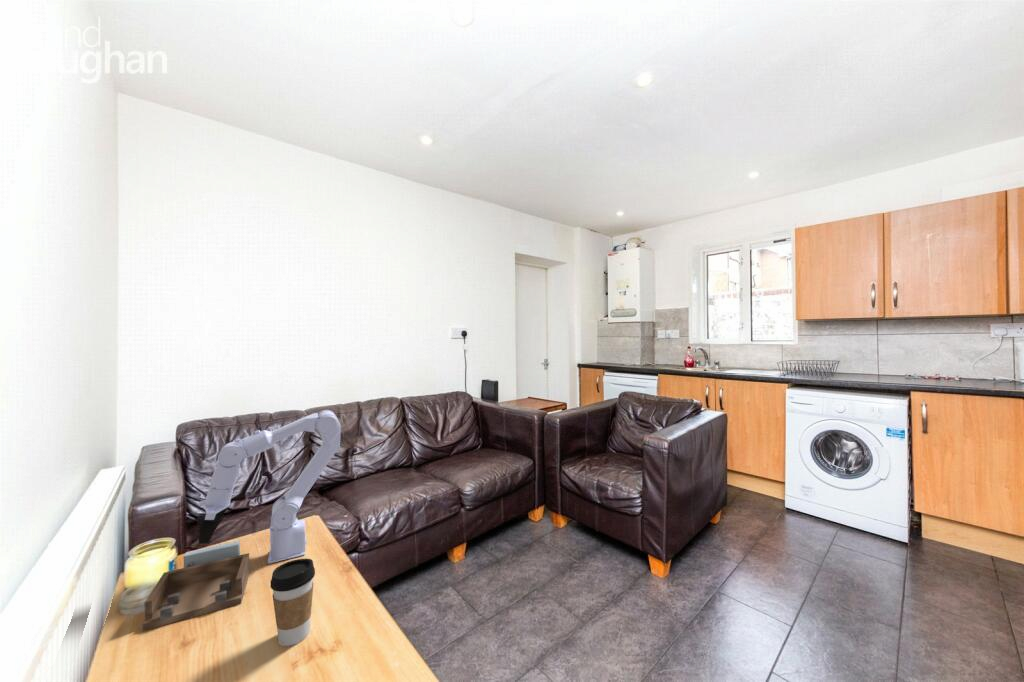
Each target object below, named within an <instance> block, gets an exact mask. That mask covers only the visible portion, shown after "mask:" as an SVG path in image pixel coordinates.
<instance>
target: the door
mask: <svg viewBox="0 0 1024 682" xmlns="http://www.w3.org/2000/svg"><path fill="white" fill-rule="evenodd" d="M240 542H241V541H240V540H236V541H231V542H227V543H224V544H223V543H222V544H219V545H217V544H216V545H214V546H213V545H212V546H209V547H204V548H199V549H195V550H191V551H190V550H189V551H186V552H185V554H184V556H183V568H186V567H191V566H195V565H199V564H204V563H208V562H212V561H217V560H221V559H225V558H230V557H234V556H238V555H241V543H240Z"/></svg>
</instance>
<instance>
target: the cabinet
mask: <svg viewBox="0 0 1024 682" xmlns="http://www.w3.org/2000/svg"><path fill="white" fill-rule="evenodd" d="M250 570H251V569H250V553H249V552H248V553H244V554H240V555H238V556H234V557H230V558H225V559H221V560H217V561H212V562H208V563H204V564H199V565H195V566H191V567H186V568H184V567H182V568H178V569H174V570H173V569H172V570H169V571H165V572H163V573H162V574H161V577H160V578H159V579H158V582H156V584H155V586H154V587H153V589H152V590H151V592H150V593H149V595H148V596H147V598H146V600H145V601H144V621H143V623H142V632H144V631H147V630H150V629H155V628H158V627H162V626H165V625H169V624H173V623H176V622H180V621H184V620H188V619H191V618H193V617H198V616H202V615H205V614H209V613H212V612H213V613H214V612H216V611H220V610H222V609H227V608H230V607H233V606H236V605H240V604H242V601H243V598H244V595H245V591H246V588H247V584H248V581H249V577H250V574H251V573H250Z"/></svg>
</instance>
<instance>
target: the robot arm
mask: <svg viewBox="0 0 1024 682" xmlns="http://www.w3.org/2000/svg"><path fill="white" fill-rule="evenodd" d="M316 430H317V431H318V433H319V434H320V436H321V437H320V438H321V442H322V443H321V445H320V446H319V447H318V449H317V450H316V452H315V453H314V455H313V456H312V457H311V459H310V460H309V462H308V463H307V465H306V466H305V467H304V469H303V470H302V471H301V473H300V474H299V476H298V477H297V479H296V480H295V482H294V483H293V484H292V486H291V487H290V488H289V489H288V490H287V491H286V492H285V493H284V494H283V495H282V496H281V497H280V498H278V499H277V500H275V502H274V503H273V504H272V507H271V517H270V525H269V545H270V546H269V549H270V550H269V554H268V559H267V564H269V565H270V564H273V563H277V562H281V561H286V560H290V559H293V558H298V557H301V556H304V555H306V545H307V537H306V519H301V520H300V519H298V518H297V513H298V511H299V510H300V508H301V506H302V504H303V501H304V499H305V498H306V496H307V494H308V493H309V491H310V490H311V488H312V487H313V485H314V484H315V483H316V481H317V479H319V477H320V475H321V474H322V472H323V471H324V470H325V468H326V467H327V466H328V464H329V463H330V461H331V460H332V458H333V457H334V456H335V454H336V453H337V451H338V450H339V448H340V446H341V430H342V425H341V422H340V420H339V418H338V417H337V415H336V414H335V412H334V411H332V410H329V409H324V410H320V411H319V412H314V413H311V414H309V415H307V416H304V417H302V418H300V419H297V420H295V421H293V422H291V423H287V424H286V425H284V426H282V427H279V428H276V429H275V430H273V431H271V430H267V429H264V430H260V429H258V430H255V431H254V433H253V434H251V435H249V436H246V437H244V438H237V439H235V441H231V442H227V443H226V444H224V445H223V446H222V448H221V449H220V451H219V453H218V454H217V463H216V464H215V465H216V466H215V467H216V468H215V469H214V471H213V474H212V476H211V479H210V483H209V487H208V490H207V493H206V497H205V499H204V500H200V501H199V503H198V506H200V507H201V506H202V507H203V509H204V511H205V512H206V514H199V515H198V516H197V519H196V521H197V524H198V531H199V533H198V544H209V543H210V541H211V539H212V537H213V536H214V533H215V531H216V530H217V528H218V526H219V525H220V524H221V523H222V522H223V520H224V518H225V517H224V514H225V513H226V511H228V509H229V508H230V507H231V503H232V502H231V500H232V497H233V493H234V489H235V486H236V482H237V479H238V476H239V471H240V469H239V468H240V465H241V463H242V461H243V460H244V459H247V458H251V457H253V456H255V455H259V454H261V453H263V452H265V451H267V450H271V449H272V448H273V446H274V445H275V443H276V442H278V441H281V440H283V439H284V440H285V439H286V438H289V437H291V436H294V435H296V434H299V433H302V432H304V431H305V432H307V433H308V432H309V433H316Z"/></svg>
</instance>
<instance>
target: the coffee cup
mask: <svg viewBox="0 0 1024 682" xmlns="http://www.w3.org/2000/svg"><path fill="white" fill-rule="evenodd" d="M271 574H272V575H271V579H270V589H271V590H272V602H273V609H274V616H275V624H276V632H277V638H278V639H277V640H278V644H279V645H280V646H282V647H290V646H291V647H292V646H294V645H296V644H299V643H301V642H302V641H304V640H305V639H306V638H307V637H308V635H309V634H310V631H311V616H312V607H313V606H312V605H313V604H312V603H313V593H314V577H315V575H316V568H315V567H314V561H313V559H312V558H298V559H294V560H293V559H292V560H290V561H286V562H284V563H282V564H280V565H278V566H277V567H276V568H274V569H273V571H272V573H271Z"/></svg>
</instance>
